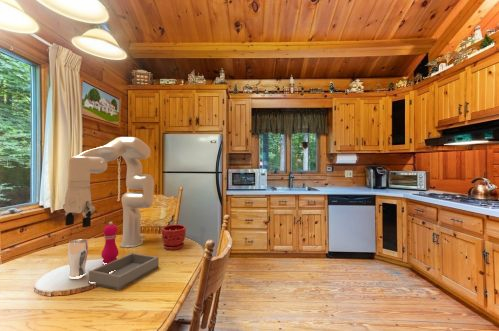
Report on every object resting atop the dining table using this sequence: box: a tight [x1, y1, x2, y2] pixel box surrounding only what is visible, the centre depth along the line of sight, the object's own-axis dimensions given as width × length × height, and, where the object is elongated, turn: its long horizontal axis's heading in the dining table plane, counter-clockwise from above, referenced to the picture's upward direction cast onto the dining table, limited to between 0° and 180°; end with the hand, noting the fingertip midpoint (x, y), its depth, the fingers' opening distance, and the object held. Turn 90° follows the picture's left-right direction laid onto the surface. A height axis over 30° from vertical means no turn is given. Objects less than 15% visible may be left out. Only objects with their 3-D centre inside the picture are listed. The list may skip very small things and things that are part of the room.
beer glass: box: [67, 238, 89, 277], centre depth 103 cm, size 7×7×15 cm
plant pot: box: [161, 224, 187, 251], centre depth 142 cm, size 13×13×12 cm
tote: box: [88, 252, 160, 291], centre depth 105 cm, size 22×15×5 cm
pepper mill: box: [101, 221, 119, 263], centre depth 119 cm, size 7×7×20 cm
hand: (77, 225), depth 103 cm, fingers open, 9 cm apart
